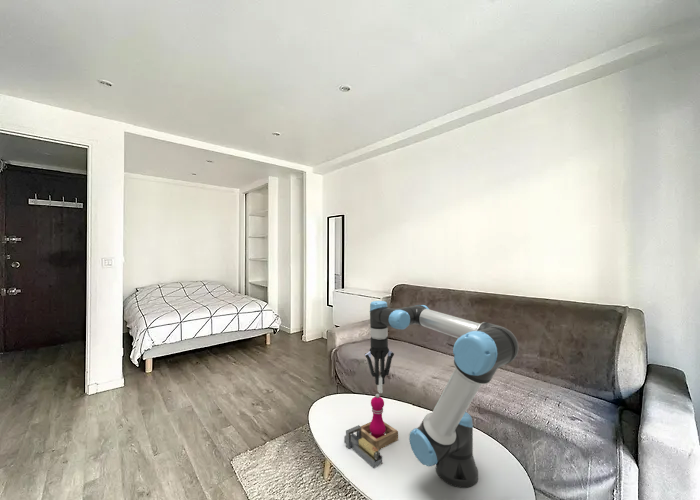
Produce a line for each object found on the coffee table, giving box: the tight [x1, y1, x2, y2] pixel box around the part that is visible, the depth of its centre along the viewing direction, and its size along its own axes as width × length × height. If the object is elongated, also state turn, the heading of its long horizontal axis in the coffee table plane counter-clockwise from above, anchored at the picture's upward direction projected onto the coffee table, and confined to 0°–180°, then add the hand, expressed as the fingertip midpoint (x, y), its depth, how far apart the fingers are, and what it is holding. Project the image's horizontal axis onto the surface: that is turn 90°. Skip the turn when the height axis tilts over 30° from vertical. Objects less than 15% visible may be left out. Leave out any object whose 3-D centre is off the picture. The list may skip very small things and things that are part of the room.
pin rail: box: [343, 424, 383, 469], centre depth 128 cm, size 20×7×7 cm, turn 36°
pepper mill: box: [370, 393, 386, 439], centre depth 138 cm, size 7×7×20 cm
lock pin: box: [359, 438, 381, 460], centre depth 124 cm, size 11×3×3 cm, turn 36°
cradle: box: [360, 420, 399, 450], centre depth 138 cm, size 13×13×4 cm
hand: (380, 391), depth 132 cm, fingers closed
